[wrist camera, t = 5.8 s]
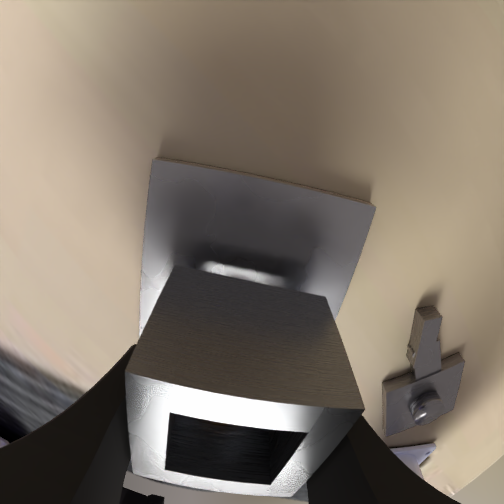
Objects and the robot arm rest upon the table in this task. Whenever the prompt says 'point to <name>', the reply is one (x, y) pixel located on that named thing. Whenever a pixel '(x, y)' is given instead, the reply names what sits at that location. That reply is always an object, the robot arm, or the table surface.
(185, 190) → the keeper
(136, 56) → the table surface
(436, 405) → the gray t-shaped latch
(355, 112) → the table surface
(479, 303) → the table surface
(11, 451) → the robot arm
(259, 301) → the gray hollow cube
